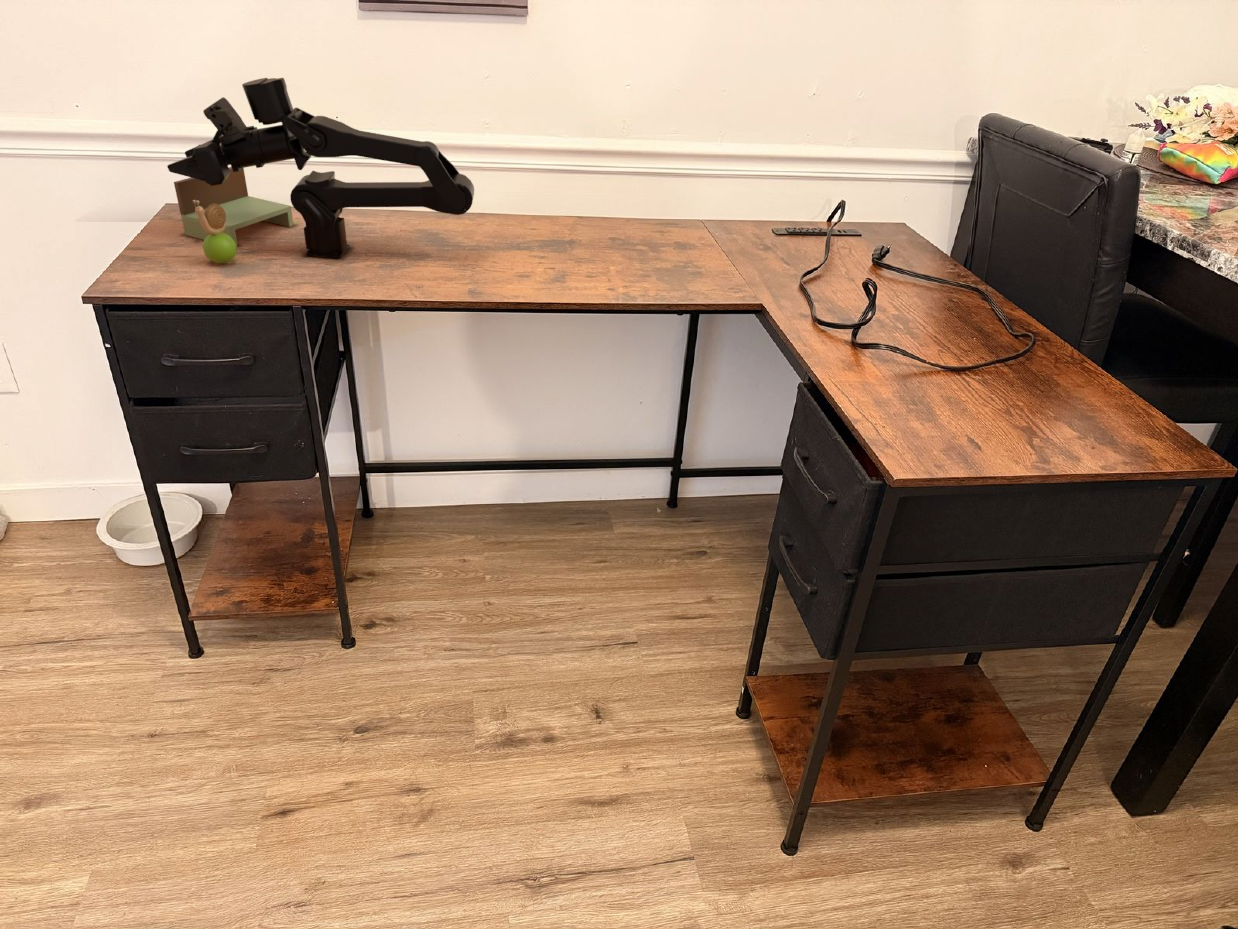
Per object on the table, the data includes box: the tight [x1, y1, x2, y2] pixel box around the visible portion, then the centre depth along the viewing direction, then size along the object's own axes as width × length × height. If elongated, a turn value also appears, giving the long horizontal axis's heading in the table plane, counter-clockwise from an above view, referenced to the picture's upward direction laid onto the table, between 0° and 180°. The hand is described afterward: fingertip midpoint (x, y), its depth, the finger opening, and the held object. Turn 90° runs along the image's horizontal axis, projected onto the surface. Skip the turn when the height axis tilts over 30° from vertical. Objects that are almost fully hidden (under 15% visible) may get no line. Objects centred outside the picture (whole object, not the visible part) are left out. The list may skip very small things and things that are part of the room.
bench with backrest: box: [173, 166, 295, 247], centre depth 164 cm, size 12×16×10 cm
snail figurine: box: [193, 200, 238, 265], centre depth 149 cm, size 5×6×12 cm
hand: (177, 161), depth 149 cm, fingers open, 9 cm apart
